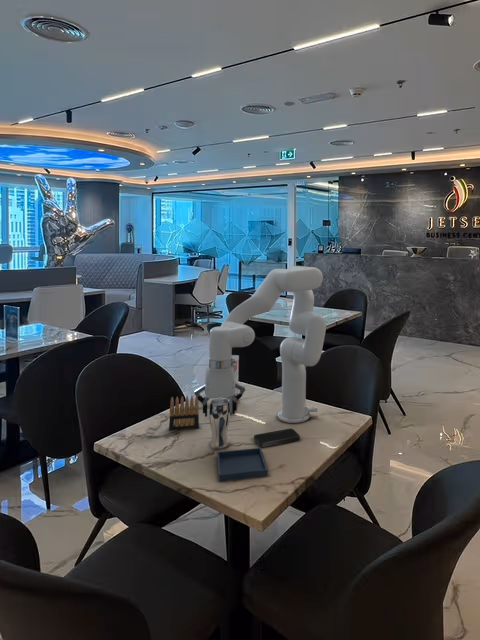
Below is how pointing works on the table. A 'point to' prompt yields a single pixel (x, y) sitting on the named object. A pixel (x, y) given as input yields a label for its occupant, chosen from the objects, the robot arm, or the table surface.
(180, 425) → the ammunition clip
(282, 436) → the phone
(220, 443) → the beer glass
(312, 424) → the table surface
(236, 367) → the hard drive box
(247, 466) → the tray
